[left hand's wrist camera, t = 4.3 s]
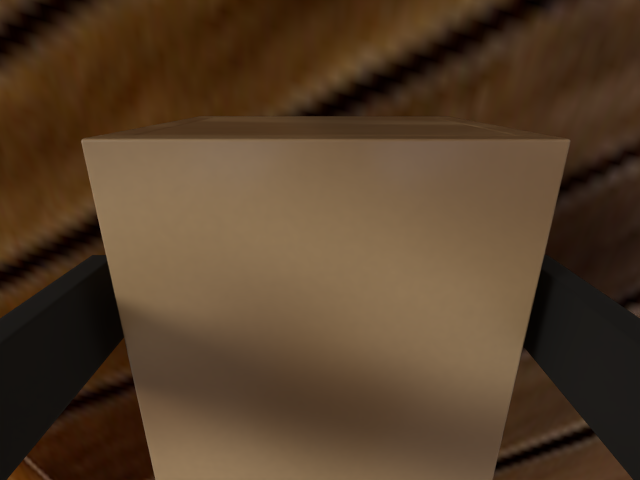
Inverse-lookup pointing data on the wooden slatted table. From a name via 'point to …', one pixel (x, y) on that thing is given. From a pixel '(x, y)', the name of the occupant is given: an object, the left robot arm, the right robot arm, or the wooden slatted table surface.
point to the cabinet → (324, 289)
